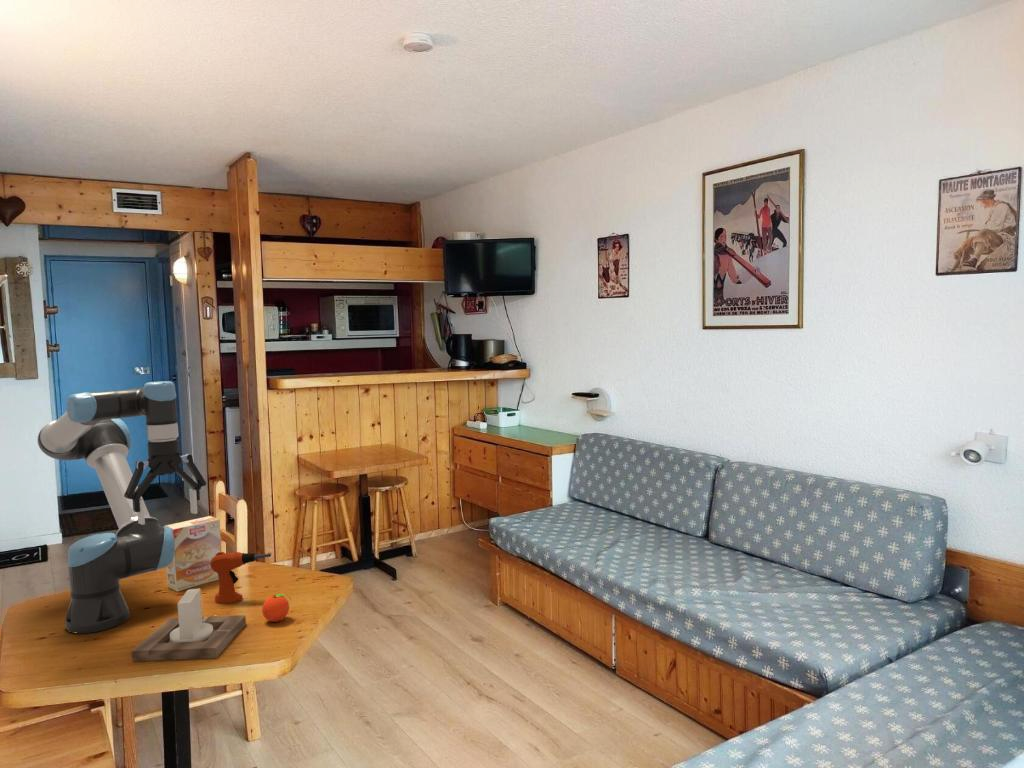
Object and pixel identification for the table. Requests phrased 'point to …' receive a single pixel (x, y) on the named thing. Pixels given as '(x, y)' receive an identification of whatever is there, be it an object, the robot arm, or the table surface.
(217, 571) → the toy drill
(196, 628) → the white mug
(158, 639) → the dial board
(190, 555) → the coffeecake box
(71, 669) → the table surface
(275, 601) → the clementine
